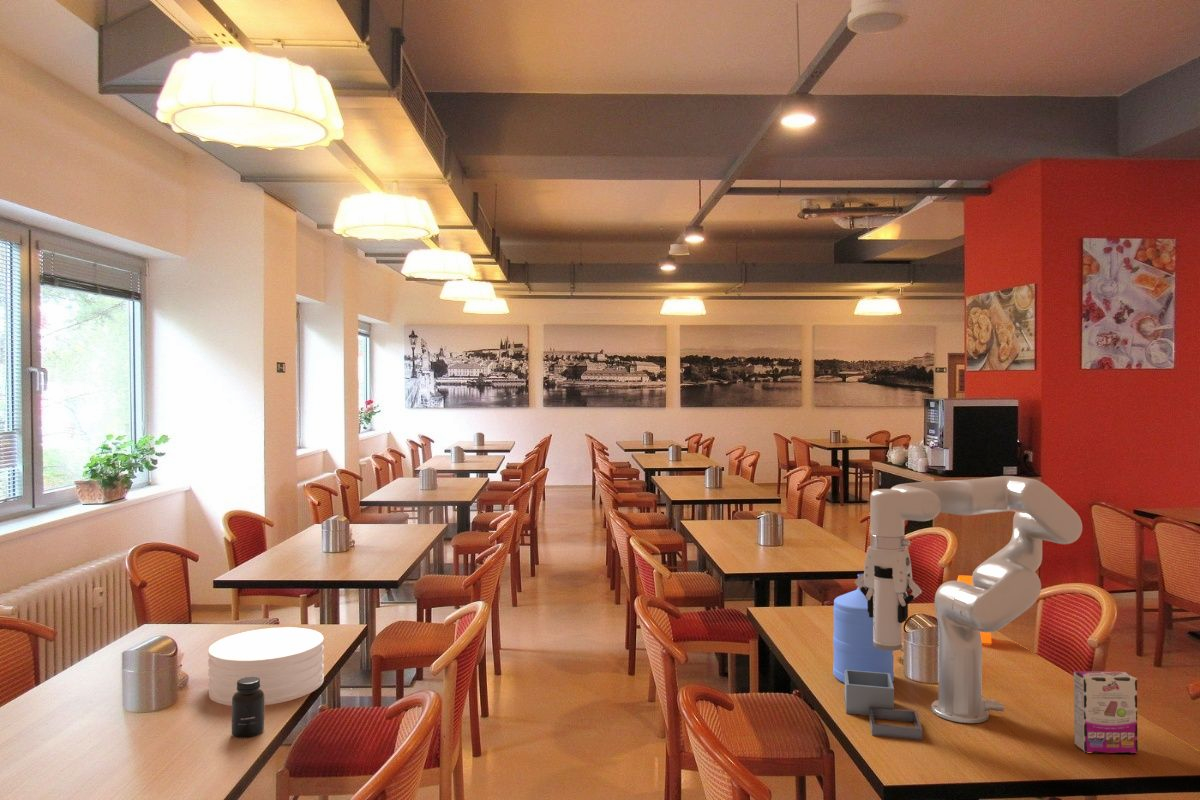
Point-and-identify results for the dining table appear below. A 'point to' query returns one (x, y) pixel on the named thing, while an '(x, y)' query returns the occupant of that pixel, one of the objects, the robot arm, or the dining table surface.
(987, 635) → the orange juice
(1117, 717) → the candy bar box
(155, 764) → the dining table surface
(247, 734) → the supplement bottle
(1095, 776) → the dining table surface
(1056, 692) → the dining table surface
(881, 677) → the grey bin
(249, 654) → the plate stack
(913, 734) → the metal collar
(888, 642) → the travel mug
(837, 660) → the water jug
